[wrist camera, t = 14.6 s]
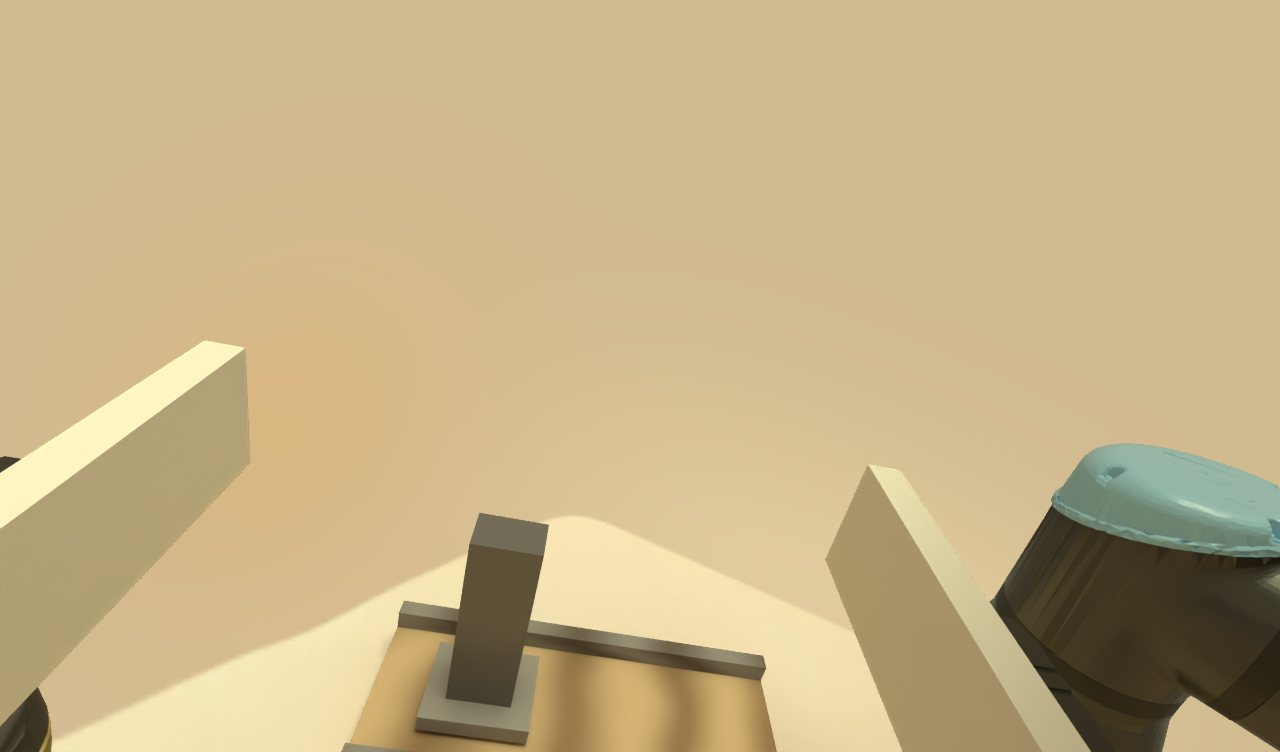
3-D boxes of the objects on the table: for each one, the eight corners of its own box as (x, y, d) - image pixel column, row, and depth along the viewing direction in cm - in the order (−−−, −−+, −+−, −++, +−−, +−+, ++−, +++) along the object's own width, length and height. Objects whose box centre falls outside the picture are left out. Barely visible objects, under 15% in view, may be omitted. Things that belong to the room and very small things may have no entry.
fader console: (746, 690, 45) (763, 650, 44) (781, 863, 36) (805, 819, 34) (400, 639, 43) (405, 594, 41) (333, 812, 33) (335, 762, 31)
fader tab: (536, 667, 40) (573, 513, 35) (525, 743, 35) (565, 578, 30) (439, 653, 39) (461, 493, 34) (414, 729, 35) (437, 558, 30)
